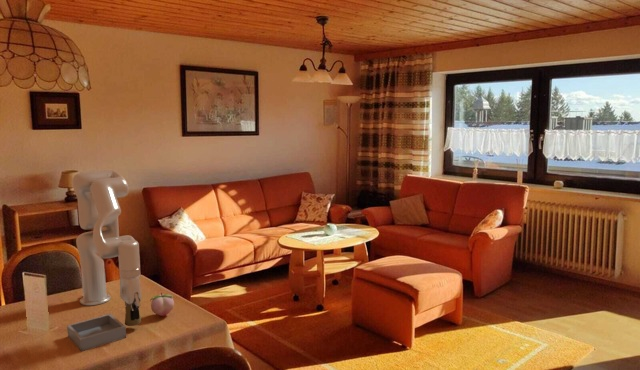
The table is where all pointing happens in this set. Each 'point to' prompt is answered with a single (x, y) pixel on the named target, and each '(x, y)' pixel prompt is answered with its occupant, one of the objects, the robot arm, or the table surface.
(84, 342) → the box
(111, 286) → the table surface
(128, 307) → the cork
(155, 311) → the decorative fruit
